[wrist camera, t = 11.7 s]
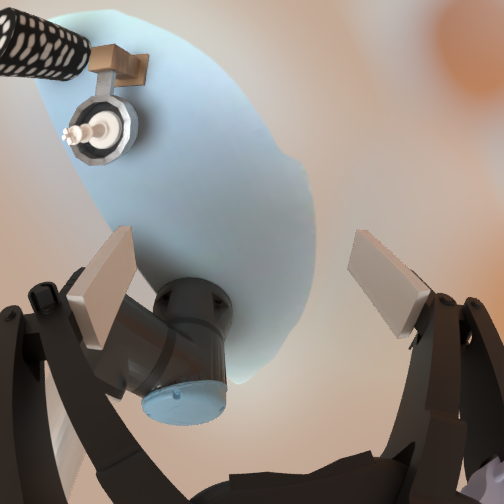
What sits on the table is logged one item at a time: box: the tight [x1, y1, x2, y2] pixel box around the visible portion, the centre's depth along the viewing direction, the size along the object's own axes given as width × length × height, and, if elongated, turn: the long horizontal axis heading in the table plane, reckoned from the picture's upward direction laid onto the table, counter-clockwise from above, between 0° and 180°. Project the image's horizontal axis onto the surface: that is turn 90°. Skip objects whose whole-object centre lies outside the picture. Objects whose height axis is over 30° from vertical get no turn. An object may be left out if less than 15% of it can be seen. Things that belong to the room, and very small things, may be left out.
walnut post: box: [88, 44, 149, 87], centre depth 25 cm, size 5×5×12 cm
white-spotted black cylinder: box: [0, 8, 91, 81], centre depth 18 cm, size 8×8×20 cm
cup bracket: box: [69, 70, 139, 165], centre depth 26 cm, size 14×9×3 cm, turn 173°
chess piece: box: [62, 111, 122, 149], centre depth 23 cm, size 5×5×10 cm
